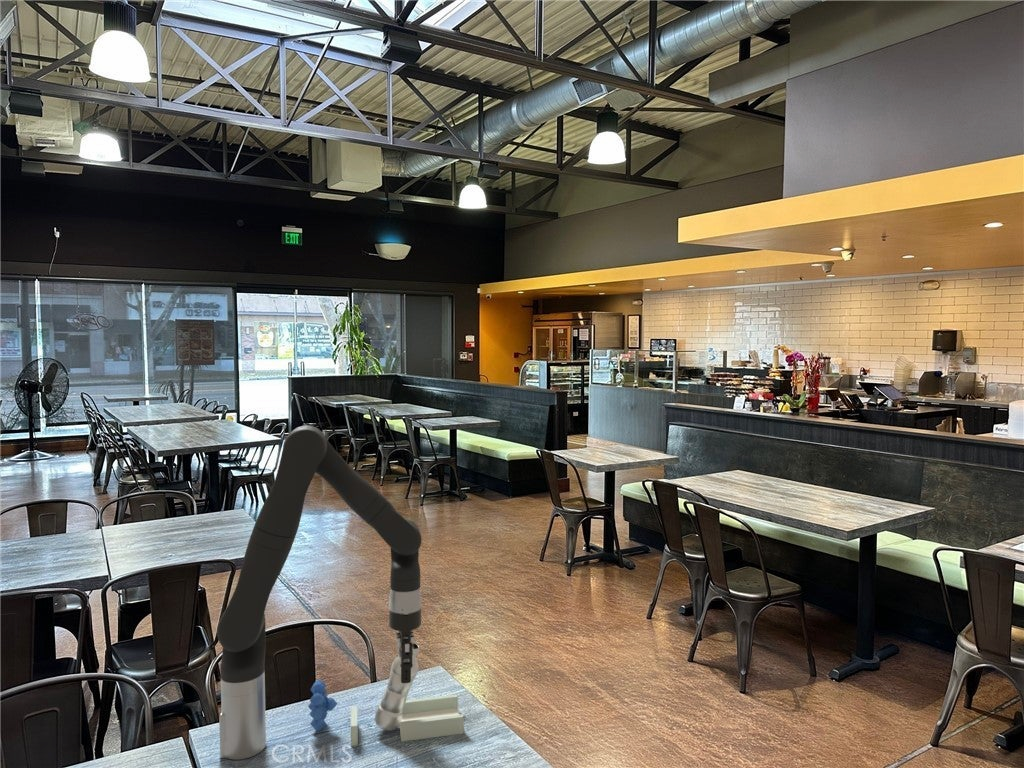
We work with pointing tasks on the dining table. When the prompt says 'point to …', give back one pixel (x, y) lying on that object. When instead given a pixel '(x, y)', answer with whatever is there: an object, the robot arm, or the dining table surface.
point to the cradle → (431, 718)
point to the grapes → (320, 705)
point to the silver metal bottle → (395, 695)
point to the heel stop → (354, 726)
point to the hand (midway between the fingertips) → (404, 675)
